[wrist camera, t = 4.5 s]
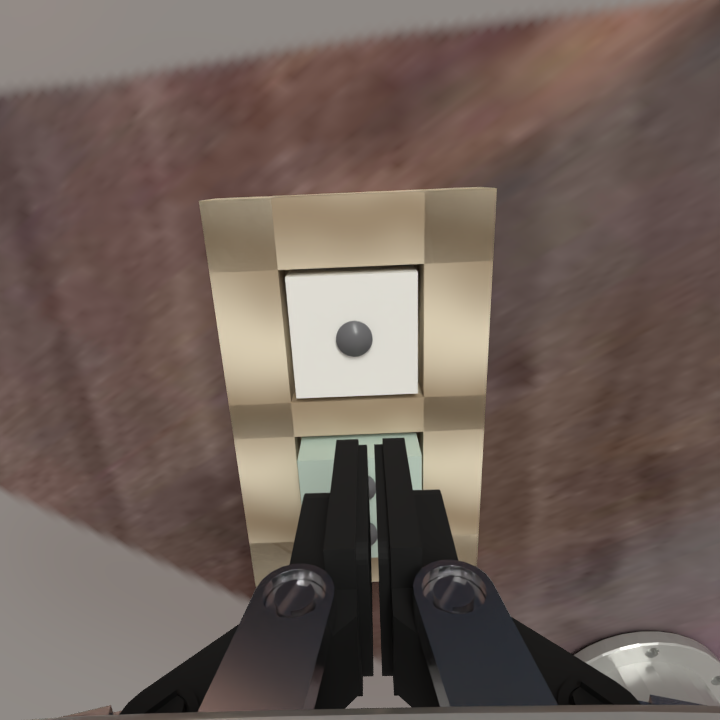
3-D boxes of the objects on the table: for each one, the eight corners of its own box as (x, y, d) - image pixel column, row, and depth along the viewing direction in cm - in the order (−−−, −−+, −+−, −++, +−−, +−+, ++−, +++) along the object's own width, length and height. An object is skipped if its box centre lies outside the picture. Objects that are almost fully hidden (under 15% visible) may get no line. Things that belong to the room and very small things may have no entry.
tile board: (464, 539, 29) (476, 577, 27) (265, 547, 29) (255, 586, 27) (479, 187, 22) (496, 188, 20) (218, 198, 22) (198, 200, 20)
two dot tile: (416, 525, 26) (422, 558, 24) (310, 529, 26) (306, 563, 24) (415, 432, 24) (422, 458, 22) (302, 437, 24) (296, 463, 22)
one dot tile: (412, 375, 25) (418, 395, 22) (301, 380, 25) (295, 400, 22) (412, 263, 23) (418, 272, 20) (291, 268, 23) (284, 278, 20)
